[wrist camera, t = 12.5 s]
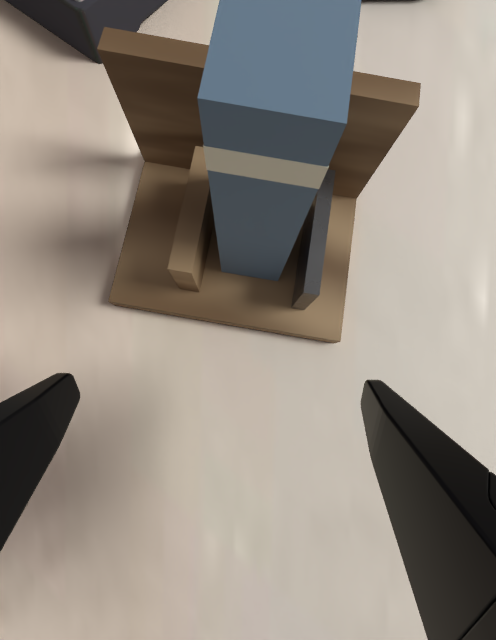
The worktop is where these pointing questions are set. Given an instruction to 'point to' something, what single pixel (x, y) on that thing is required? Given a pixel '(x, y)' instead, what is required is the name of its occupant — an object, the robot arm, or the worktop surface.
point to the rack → (196, 205)
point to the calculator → (87, 19)
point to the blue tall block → (272, 120)
